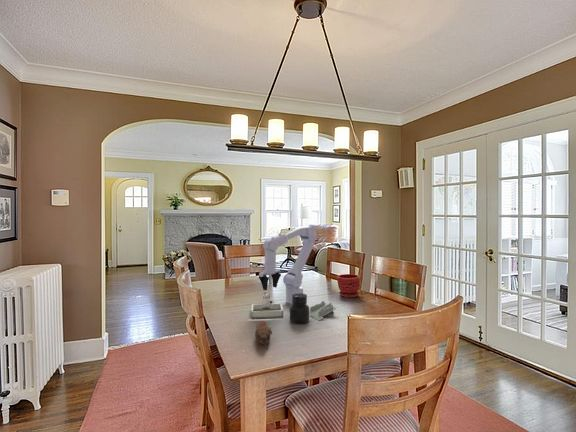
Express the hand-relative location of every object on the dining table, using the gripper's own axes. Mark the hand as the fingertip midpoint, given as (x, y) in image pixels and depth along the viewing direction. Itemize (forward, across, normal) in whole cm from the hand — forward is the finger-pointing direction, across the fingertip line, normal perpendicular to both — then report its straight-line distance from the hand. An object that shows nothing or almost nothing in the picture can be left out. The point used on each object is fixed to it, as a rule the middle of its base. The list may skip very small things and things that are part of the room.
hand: (269, 288), depth 165 cm
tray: (+10, +8, +5) cm, 14 cm away
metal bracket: (+11, -9, +26) cm, 29 cm away
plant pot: (+10, -47, +21) cm, 52 cm away
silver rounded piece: (+10, +8, +5) cm, 14 cm away
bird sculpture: (+11, +31, +24) cm, 41 cm away
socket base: (+10, -1, -2) cm, 11 cm away
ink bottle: (+10, +6, +24) cm, 26 cm away
